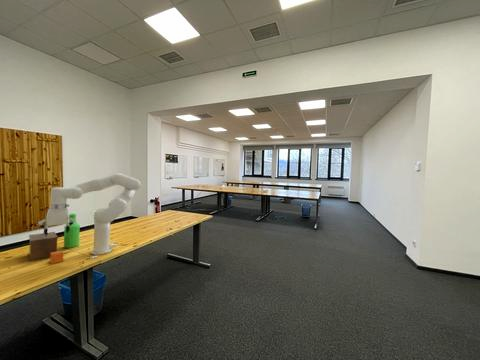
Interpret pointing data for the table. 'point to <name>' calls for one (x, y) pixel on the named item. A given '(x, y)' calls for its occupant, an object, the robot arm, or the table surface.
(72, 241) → the bottle
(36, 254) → the shelf
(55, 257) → the cube
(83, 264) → the table surface
